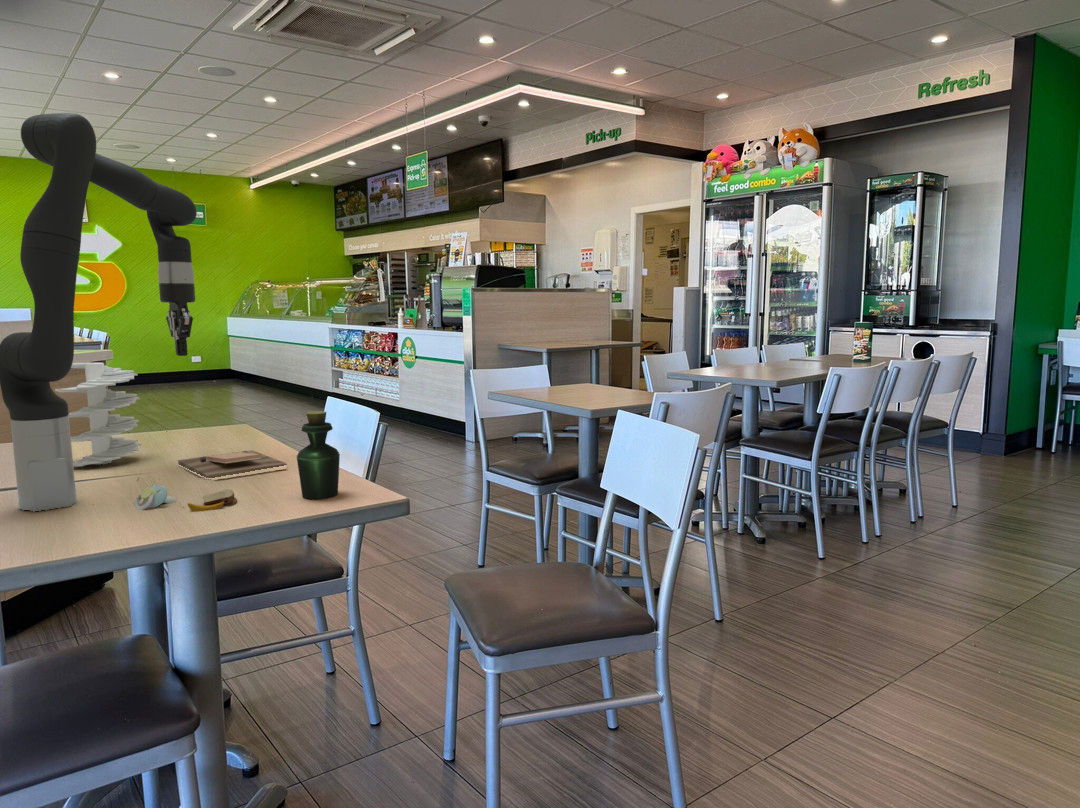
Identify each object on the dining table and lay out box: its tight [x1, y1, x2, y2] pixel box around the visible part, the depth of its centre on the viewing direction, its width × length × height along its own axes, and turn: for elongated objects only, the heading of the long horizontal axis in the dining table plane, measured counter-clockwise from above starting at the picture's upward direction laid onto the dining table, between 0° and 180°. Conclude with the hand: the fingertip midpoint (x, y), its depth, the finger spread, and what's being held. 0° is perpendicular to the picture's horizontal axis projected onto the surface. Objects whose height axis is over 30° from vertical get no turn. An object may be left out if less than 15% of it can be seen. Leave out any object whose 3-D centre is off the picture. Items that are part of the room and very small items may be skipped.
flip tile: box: [207, 451, 261, 463], centre depth 176 cm, size 13×8×1 cm, turn 42°
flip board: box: [177, 450, 288, 478], centre depth 177 cm, size 22×18×3 cm
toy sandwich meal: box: [182, 488, 238, 512], centre depth 140 cm, size 9×10×4 cm
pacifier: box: [133, 483, 177, 511], centre depth 141 cm, size 7×6×6 cm
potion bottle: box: [296, 410, 341, 501], centre depth 145 cm, size 8×8×18 cm
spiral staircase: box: [54, 361, 142, 467], centre depth 182 cm, size 18×18×25 cm
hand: (181, 355), depth 176 cm, fingers closed
